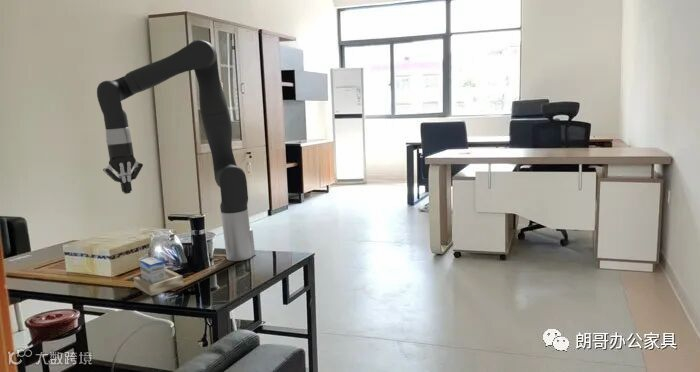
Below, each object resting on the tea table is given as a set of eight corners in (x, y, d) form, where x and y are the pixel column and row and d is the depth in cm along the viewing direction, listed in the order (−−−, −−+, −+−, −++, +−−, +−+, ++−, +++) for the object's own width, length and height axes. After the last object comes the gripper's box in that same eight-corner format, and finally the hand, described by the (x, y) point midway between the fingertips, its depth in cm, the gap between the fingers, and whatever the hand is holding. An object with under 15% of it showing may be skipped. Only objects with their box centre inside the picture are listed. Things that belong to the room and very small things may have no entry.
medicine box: (142, 286, 166) (138, 260, 164) (156, 282, 169) (152, 256, 168) (153, 292, 161) (149, 265, 159) (167, 287, 164) (163, 260, 162)
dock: (166, 276, 173) (164, 268, 173) (183, 284, 165) (182, 275, 164) (134, 286, 166) (133, 277, 166) (151, 295, 158) (149, 286, 157)
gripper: (102, 145, 168) (111, 198, 171) (143, 139, 177) (151, 190, 180) (94, 144, 173) (103, 195, 176) (134, 139, 182) (141, 188, 185)
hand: (127, 193), depth 178 cm, fingers closed
